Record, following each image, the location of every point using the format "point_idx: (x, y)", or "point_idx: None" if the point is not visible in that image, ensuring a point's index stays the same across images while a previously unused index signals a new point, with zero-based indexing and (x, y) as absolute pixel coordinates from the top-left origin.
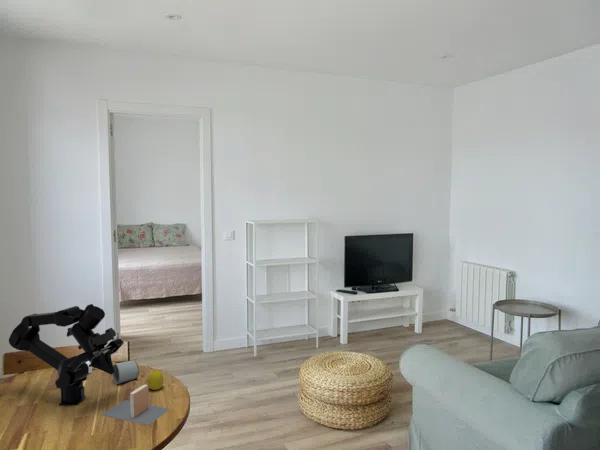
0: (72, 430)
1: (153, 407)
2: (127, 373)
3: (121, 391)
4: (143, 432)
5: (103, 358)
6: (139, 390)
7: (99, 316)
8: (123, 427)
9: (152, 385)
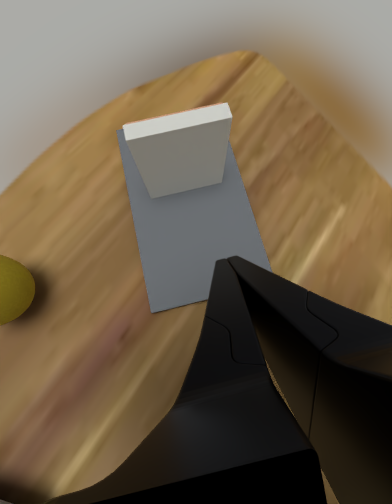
0: (379, 281)
1: (136, 177)
2: None
3: (91, 424)
4: (242, 106)
5: (386, 359)
6: (182, 114)
7: None
8: (261, 168)
9: (27, 274)
